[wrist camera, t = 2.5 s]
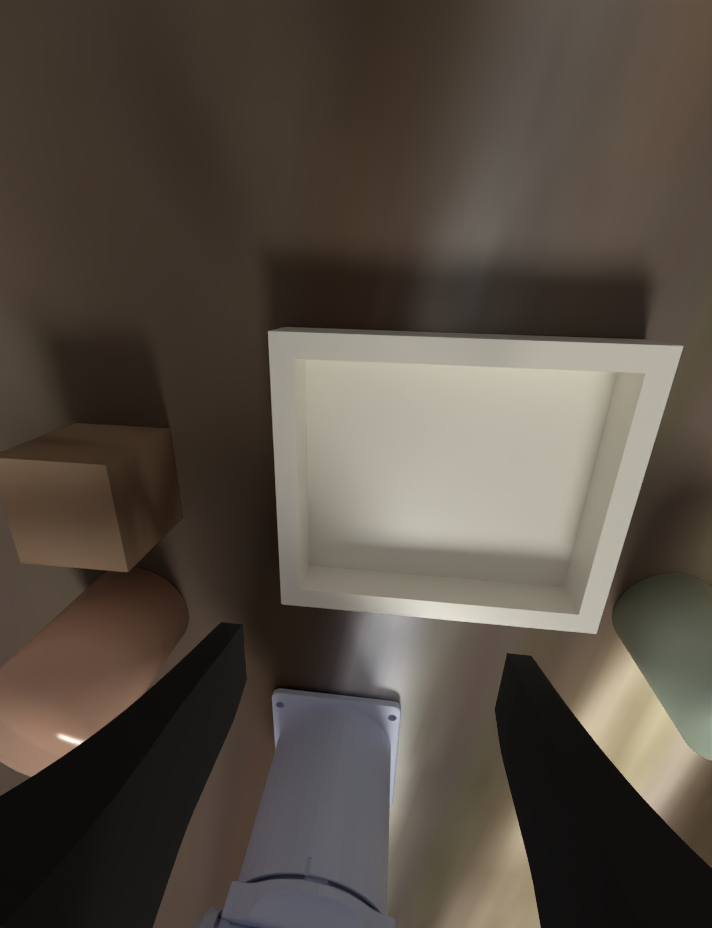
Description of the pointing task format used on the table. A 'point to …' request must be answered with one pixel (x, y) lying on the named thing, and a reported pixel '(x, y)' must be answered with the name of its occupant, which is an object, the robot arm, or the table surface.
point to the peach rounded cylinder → (87, 666)
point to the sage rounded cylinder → (673, 648)
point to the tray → (460, 470)
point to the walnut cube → (90, 495)
